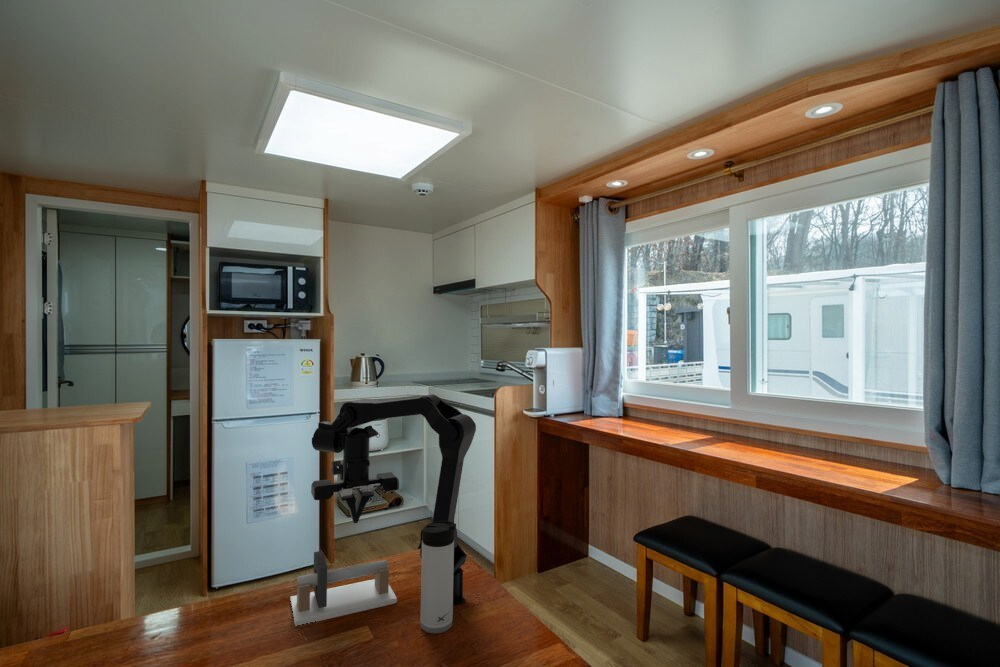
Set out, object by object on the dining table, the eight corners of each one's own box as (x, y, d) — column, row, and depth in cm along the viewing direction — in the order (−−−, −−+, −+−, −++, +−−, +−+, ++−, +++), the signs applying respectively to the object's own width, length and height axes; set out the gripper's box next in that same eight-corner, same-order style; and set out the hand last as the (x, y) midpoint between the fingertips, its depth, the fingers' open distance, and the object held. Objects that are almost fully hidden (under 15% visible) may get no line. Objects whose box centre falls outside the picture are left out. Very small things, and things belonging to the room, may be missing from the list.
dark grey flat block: (320, 587, 110) (321, 550, 110) (326, 606, 103) (327, 566, 103) (313, 589, 109) (313, 552, 109) (318, 608, 102) (319, 568, 102)
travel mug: (448, 636, 97) (450, 531, 97) (415, 631, 98) (417, 528, 98) (457, 618, 103) (459, 519, 103) (426, 613, 105) (428, 516, 104)
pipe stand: (384, 581, 117) (385, 549, 117) (396, 602, 108) (397, 568, 108) (290, 601, 108) (290, 566, 108) (295, 626, 99) (295, 589, 99)
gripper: (387, 443, 129) (386, 505, 129) (308, 450, 120) (307, 516, 121) (400, 454, 119) (398, 521, 119) (315, 462, 111) (314, 534, 111)
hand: (355, 522), depth 118 cm, fingers closed
